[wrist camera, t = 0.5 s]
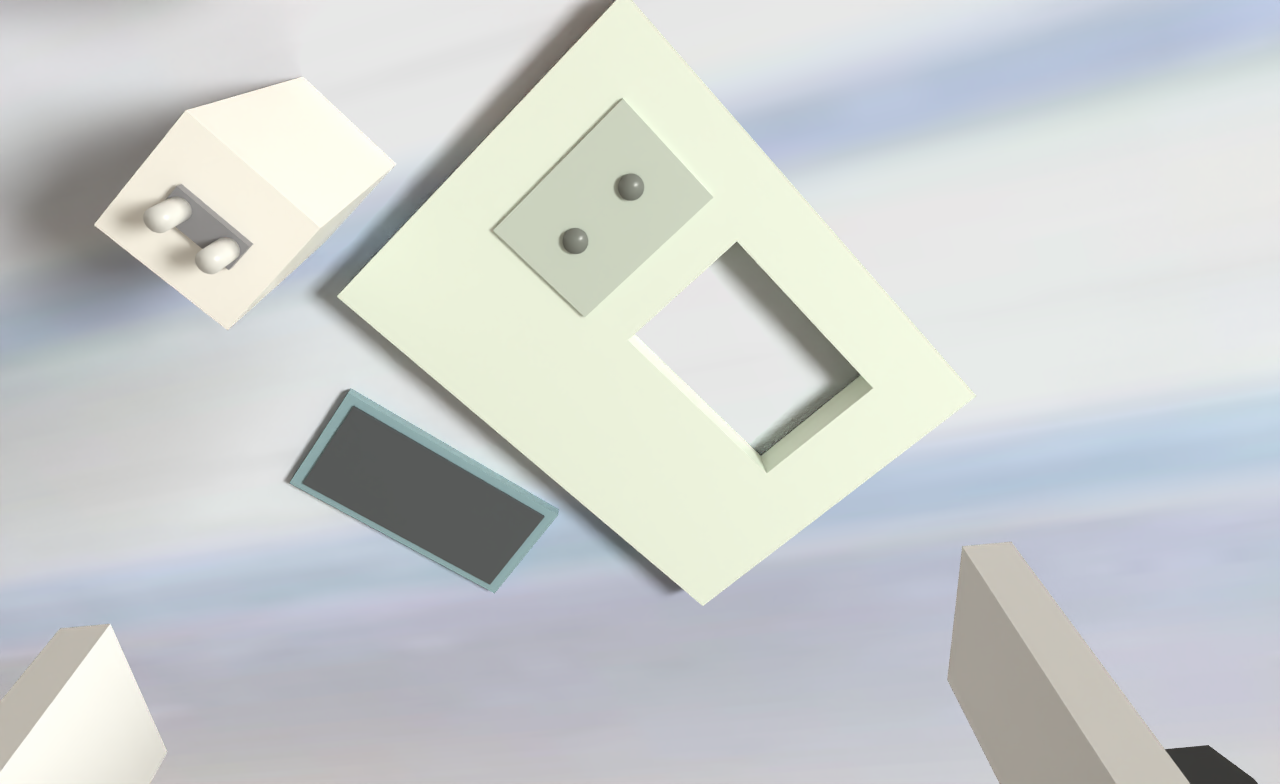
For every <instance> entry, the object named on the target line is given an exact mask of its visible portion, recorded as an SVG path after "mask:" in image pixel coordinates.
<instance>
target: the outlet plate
mask: <svg viewBox="0 0 1280 784" xmlns="http://www.w3.org/2000/svg"><path fill="white" fill-rule="evenodd" d="M736 242H738V243H739V244H740V245H741V246H742V247H743V248H744V250H745V251H746V252H747V253H748V254H749V255H750V256H751V257H752V258H753V259H754V260H755V261H756V262H757V264H758V265H759V266H760V267H761V268H762V269H763V270H764V271H765V272H766V273H767V274H768V275H769V276H770V278H771V279H772V280H773V281H774V282H775V283H776V284H777V285H778V286H779V287H780V288H781V289H782V290H783V292H784V293H785V294H786V295H787V296H788V297H789V298H790V299H791V300H792V301H793V302H794V303H795V305H796V306H797V307H798V308H799V309H800V310H801V311H802V312H803V313H804V314H805V315H806V316H807V317H808V319H809V320H810V321H811V322H812V323H813V324H814V325H815V326H816V327H817V328H818V329H819V330H820V331H821V333H822V334H823V335H824V336H825V337H826V338H827V339H828V340H829V341H830V342H831V343H832V344H833V345H834V347H835V348H836V349H837V350H838V351H839V352H840V353H841V354H842V355H843V356H844V357H845V358H846V359H847V361H848V362H849V363H850V364H851V365H852V366H853V367H854V368H855V369H856V370H857V371H858V372H859V373H860V376H859V377H858V378H856V379H855V380H854V381H853V382H851V383H850V384H849V385H848V386H847V387H845V388H844V389H843V390H842V391H840V392H839V393H838V394H837V395H835V396H834V397H833V398H832V399H831V400H829V401H828V402H827V403H826V404H824V405H823V406H822V407H821V408H819V409H818V410H817V411H816V412H814V413H813V414H812V415H811V416H810V417H808V418H807V419H806V420H805V421H803V422H802V423H801V424H800V425H798V426H797V427H796V428H795V429H793V430H792V431H791V432H790V433H789V434H787V435H786V436H785V437H784V438H782V439H781V440H780V441H779V442H777V443H776V444H775V445H774V446H772V447H771V448H770V449H769V450H768V451H766V452H765V453H764V454H763V455H759V454H758V453H757V452H756V451H755V450H754V449H753V448H752V447H751V446H750V445H749V444H748V443H747V442H746V441H745V440H744V439H743V438H742V437H741V436H740V435H739V434H738V433H737V432H736V431H735V430H734V429H733V428H731V427H730V426H729V425H728V424H727V423H726V422H725V421H724V420H723V419H722V418H721V417H720V416H719V415H718V414H717V413H716V412H715V411H714V410H713V409H712V408H711V407H710V406H709V405H708V404H707V403H706V402H705V401H703V400H702V399H701V398H700V397H699V396H698V395H697V394H696V393H695V392H694V391H693V390H692V389H691V388H690V387H689V386H688V385H687V384H686V383H685V382H684V381H683V380H682V379H681V378H680V377H679V376H678V375H677V374H676V373H674V372H673V371H672V370H671V369H670V368H669V367H668V366H667V365H666V364H665V363H664V362H663V361H662V360H661V359H660V358H659V357H658V356H657V355H656V354H655V353H654V352H653V351H652V350H651V349H650V348H649V347H648V346H646V345H645V344H644V343H643V342H642V341H641V340H640V339H639V338H638V337H637V336H636V335H635V333H636V332H637V331H639V330H640V329H641V328H642V327H643V326H644V325H645V324H646V323H647V322H649V321H650V320H651V319H652V318H653V317H654V316H655V315H656V314H657V313H658V312H660V311H661V310H662V309H663V308H664V307H665V306H666V305H667V304H668V303H669V302H671V301H672V300H673V299H674V298H675V297H676V296H677V295H678V294H679V293H680V292H682V291H683V290H684V289H685V288H686V287H687V286H688V285H689V284H690V283H692V282H693V281H694V280H695V279H696V278H697V277H698V276H699V275H700V274H701V273H703V272H704V271H705V270H706V269H707V268H708V267H709V266H710V265H711V264H712V263H714V262H715V261H716V260H717V259H718V258H719V257H720V256H721V255H722V254H724V253H725V252H726V251H727V250H728V249H729V248H730V247H731V246H732V245H733V244H735V243H736ZM337 297H338V298H339V299H340V300H341V301H342V302H344V303H345V304H346V305H347V306H348V307H350V308H351V309H352V310H353V311H354V312H356V313H357V314H358V315H359V316H360V317H361V318H363V319H364V320H365V321H366V322H367V323H369V324H370V325H371V326H372V327H373V328H374V329H376V330H377V331H378V332H379V333H380V334H382V335H383V336H384V337H385V338H386V339H387V340H389V341H390V342H391V343H392V344H393V345H395V346H396V347H397V348H398V349H399V350H400V351H402V352H403V353H404V354H405V355H406V356H408V357H409V358H410V359H411V360H412V361H414V362H415V363H416V364H417V365H418V366H419V367H421V368H422V369H423V370H424V371H425V372H427V373H428V374H429V375H430V376H431V377H432V378H434V379H435V380H436V381H437V382H438V383H440V384H441V385H442V386H443V387H444V388H445V389H447V390H448V391H449V392H450V393H451V394H453V395H454V396H455V397H456V398H457V399H459V400H460V401H461V402H462V403H463V404H464V405H466V406H467V407H468V408H469V409H470V410H472V411H473V412H474V413H475V414H476V415H477V416H479V417H480V418H481V419H482V420H483V421H485V422H486V423H487V424H488V425H489V426H490V427H492V428H493V429H494V430H495V431H496V432H498V433H499V434H500V435H501V436H502V437H503V438H505V439H506V440H507V441H508V442H509V443H511V444H512V445H513V446H514V447H515V448H517V449H518V450H519V451H520V452H521V453H522V454H524V455H525V456H526V457H527V458H528V459H530V460H531V461H532V462H533V463H534V464H535V465H537V466H538V467H539V468H540V469H541V470H543V471H544V472H545V473H546V474H547V475H548V476H550V477H551V478H552V479H553V480H554V481H556V482H557V483H558V484H559V485H560V486H562V487H563V488H564V489H565V490H566V491H567V492H569V493H570V494H571V495H572V496H573V497H575V498H576V499H577V500H578V501H579V502H580V503H582V504H583V505H584V506H585V507H586V508H588V509H589V510H590V511H591V512H592V513H593V514H595V515H596V516H597V517H598V518H599V519H601V520H602V521H603V522H604V523H605V524H607V525H608V526H609V527H610V528H611V529H612V530H614V531H615V532H616V533H617V534H618V535H620V536H621V537H622V538H623V539H624V540H625V541H627V542H628V543H629V544H630V545H631V546H633V547H634V548H635V549H636V550H637V551H638V552H640V553H641V554H642V555H643V556H644V557H646V558H647V559H648V560H649V561H650V562H651V563H653V564H654V565H655V566H656V567H657V568H659V569H660V570H661V571H662V572H663V573H665V574H666V575H667V576H668V577H669V578H670V579H672V580H673V581H674V582H675V583H676V584H678V585H679V586H680V587H681V588H682V589H683V590H685V591H686V592H687V593H688V594H689V595H691V596H692V597H693V598H694V599H695V600H696V601H698V602H699V603H700V604H701V605H702V606H703V605H705V604H706V603H707V602H709V601H710V600H711V599H712V598H714V597H715V596H716V595H718V594H719V593H720V592H722V591H723V590H724V589H726V588H727V587H728V586H729V585H731V584H732V583H733V582H735V581H736V580H737V579H739V578H740V577H741V576H742V575H744V574H745V573H746V572H748V571H749V570H750V569H752V568H753V567H754V566H756V565H757V564H758V563H759V562H761V561H762V560H763V559H765V558H766V557H767V556H769V555H770V554H771V553H772V552H774V551H775V550H776V549H778V548H779V547H780V546H782V545H783V544H784V543H786V542H787V541H788V540H789V539H791V538H792V537H793V536H795V535H796V534H797V533H799V532H800V531H801V530H802V529H804V528H805V527H806V526H808V525H809V524H810V523H812V522H813V521H814V520H816V519H817V518H818V517H819V516H821V515H822V514H823V513H825V512H826V511H827V510H829V509H830V508H831V507H832V506H834V505H835V504H836V503H838V502H839V501H840V500H842V499H843V498H844V497H846V496H847V495H848V494H849V493H851V492H852V491H853V490H855V489H856V488H857V487H859V486H860V485H861V484H862V483H864V482H865V481H866V480H868V479H869V478H870V477H872V476H873V475H874V474H876V473H877V472H878V471H879V470H881V469H882V468H883V467H885V466H886V465H887V464H889V463H890V462H891V461H892V460H894V459H895V458H896V457H898V456H899V455H900V454H902V453H903V452H904V451H906V450H907V449H908V448H909V447H911V446H912V445H913V444H915V443H916V442H917V441H919V440H920V439H921V438H922V437H924V436H925V435H926V434H928V433H929V432H930V431H932V430H933V429H934V428H936V427H937V426H938V425H939V424H941V423H942V422H943V421H945V420H946V419H947V418H949V417H950V416H951V415H952V414H954V413H955V412H956V411H958V410H959V409H960V408H962V407H963V406H964V405H966V404H967V403H968V402H969V401H971V400H972V399H973V398H975V397H976V395H975V394H974V393H973V392H972V391H971V389H970V388H969V387H968V386H967V385H966V384H965V383H964V381H963V380H962V379H961V378H960V377H959V376H958V375H957V373H956V372H955V371H954V370H953V369H952V368H951V366H950V365H949V364H948V363H947V362H946V361H945V360H944V358H943V357H942V356H941V355H940V354H939V353H938V352H937V350H936V349H935V348H934V347H933V346H932V345H931V344H930V342H929V341H928V340H927V339H926V338H925V337H924V335H923V334H922V333H921V332H920V331H919V330H918V329H917V327H916V326H915V325H914V324H913V323H912V322H911V321H910V319H909V318H908V317H907V316H906V315H905V314H904V312H903V311H902V310H901V309H900V308H899V307H898V306H897V304H896V303H895V302H894V301H893V300H892V299H891V298H890V296H889V295H888V294H887V293H886V292H885V291H884V289H883V288H882V287H881V286H880V285H879V284H878V283H877V281H876V280H875V279H874V278H873V277H872V276H871V275H870V273H869V272H868V271H867V270H866V269H865V268H864V267H863V265H862V264H861V263H860V262H859V261H858V260H857V258H856V257H855V256H854V255H853V254H852V253H851V252H850V250H849V249H848V248H847V247H846V246H845V245H844V244H843V242H842V241H841V240H840V239H839V238H838V237H837V235H836V234H835V233H834V232H833V231H832V230H831V229H830V227H829V226H828V225H827V224H826V223H825V222H824V221H823V219H822V218H821V217H820V216H819V215H818V214H817V213H816V211H815V210H814V209H813V208H812V207H811V206H810V204H809V203H808V202H807V201H806V200H805V199H804V198H803V196H802V195H801V194H800V193H799V192H798V191H797V190H796V188H795V187H794V186H793V185H792V184H791V183H790V181H789V180H788V179H787V178H786V177H785V176H784V175H783V173H782V172H781V171H780V170H779V169H778V168H777V167H776V165H775V164H774V163H773V162H772V161H771V160H770V158H769V157H768V156H767V155H766V154H765V153H764V152H763V150H762V149H761V148H760V147H759V146H758V145H757V144H756V142H755V141H754V140H753V139H752V138H751V137H750V136H749V134H748V133H747V132H746V131H745V130H744V129H743V127H742V126H741V125H740V124H739V123H738V122H737V121H736V119H735V118H734V117H733V116H732V115H731V114H730V113H729V111H728V110H727V109H726V108H725V107H724V106H723V104H722V103H721V102H720V101H719V100H718V99H717V98H716V96H715V95H714V94H713V93H712V92H711V91H710V90H709V88H708V87H707V86H706V85H705V84H704V83H703V82H702V80H701V79H700V78H699V77H698V76H697V75H696V73H695V72H694V71H693V70H692V69H691V68H690V67H689V65H688V64H687V63H686V62H685V61H684V60H683V59H682V57H681V56H680V55H679V54H678V53H677V52H676V50H675V49H674V48H673V47H672V46H671V45H670V44H669V42H668V41H667V40H666V39H665V38H664V37H663V36H662V34H661V33H660V32H659V31H658V30H657V29H656V27H655V26H654V25H653V24H652V23H651V22H650V21H649V19H648V18H647V17H646V16H645V15H644V14H643V13H642V11H641V10H640V9H639V8H638V7H637V6H636V5H635V3H634V2H633V1H632V0H615V1H614V2H613V3H612V5H611V6H610V7H609V8H608V9H607V10H606V11H605V12H604V13H603V14H602V15H601V16H600V17H599V18H598V19H597V20H596V21H595V23H594V24H593V25H592V26H591V27H590V28H589V29H588V30H587V31H586V32H585V33H584V34H583V35H582V36H581V37H580V38H579V39H578V41H577V42H576V43H575V44H574V45H573V46H572V47H571V48H570V49H569V50H568V51H567V52H566V53H565V54H564V55H563V56H562V58H561V59H560V60H559V61H558V62H557V63H556V64H555V65H554V66H553V67H552V68H551V69H550V70H549V71H548V72H547V73H546V74H545V76H544V77H543V78H542V79H541V80H540V81H539V82H538V83H537V84H536V85H535V86H534V87H533V88H532V89H531V90H530V91H529V92H528V94H527V95H526V96H525V97H524V98H523V99H522V100H521V101H520V102H519V103H518V104H517V105H516V106H515V107H514V108H513V109H512V111H511V112H510V113H509V114H508V115H507V116H506V117H505V118H504V119H503V120H502V121H501V122H500V123H499V124H498V125H497V126H496V127H495V129H494V130H493V131H492V132H491V133H490V134H489V135H488V136H487V137H486V138H485V139H484V140H483V141H482V142H481V143H480V144H479V145H478V147H477V148H476V149H475V150H474V151H473V152H472V153H471V154H470V155H469V156H468V157H467V158H466V159H465V160H464V161H463V162H462V163H461V165H460V166H459V167H458V168H457V169H456V170H455V171H454V172H453V173H452V174H451V175H450V176H449V177H448V178H447V179H446V180H445V182H444V183H443V184H442V185H441V186H440V187H439V188H438V189H437V190H436V191H435V192H434V193H433V194H432V195H431V196H430V197H429V198H428V200H427V201H426V202H425V203H424V204H423V205H422V206H421V207H420V208H419V209H418V210H417V211H416V212H415V213H414V214H413V215H412V216H411V218H410V219H409V220H408V221H407V222H406V223H405V224H404V225H403V226H402V227H401V228H400V229H399V230H398V231H397V232H396V233H395V235H394V236H393V237H392V238H391V239H390V240H389V241H388V242H387V243H386V244H385V245H384V246H383V247H382V248H381V249H380V250H379V251H378V253H377V254H376V255H375V256H374V257H373V258H372V259H371V260H370V261H369V262H368V263H367V264H366V265H365V266H364V267H363V268H362V269H361V271H360V272H359V273H358V274H357V275H356V276H355V277H354V278H353V279H352V280H351V281H350V282H349V283H348V284H347V285H346V287H345V288H344V289H343V290H342V291H341V292H340V294H339V295H338V296H337Z"/></svg>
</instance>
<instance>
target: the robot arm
mask: <svg viewBox="0 0 1280 784" xmlns="http://www.w3.org/2000/svg"><path fill="white" fill-rule="evenodd" d="M947 680H948V682H949V684H950V686H951V688H952V690H953V692H954V694H955V696H956V698H957V700H958V702H959V704H960V706H961V708H962V710H963V712H964V714H965V716H966V718H967V720H968V722H969V724H970V726H971V728H972V730H973V732H974V734H975V736H976V738H977V740H978V742H979V744H980V746H981V748H982V750H983V752H984V754H985V756H986V758H987V760H988V761H989V763H990V765H991V767H992V769H993V771H994V773H995V775H996V777H997V779H998V781H999V783H1000V784H1258V783H1257V782H1256V781H1255V780H1254V779H1253V778H1252V777H1251V776H1249V775H1248V774H1246V773H1245V772H1244V771H1242V770H1241V769H1240V768H1238V767H1237V766H1236V765H1234V764H1233V763H1232V762H1230V761H1229V760H1228V759H1226V758H1225V757H1223V756H1222V755H1221V754H1219V753H1218V752H1217V751H1215V750H1214V749H1213V748H1211V747H1210V746H1209V745H1206V746H1195V747H1185V748H1174V749H1164V748H1163V746H1162V745H1161V744H1160V742H1159V741H1158V740H1157V738H1156V737H1155V735H1154V734H1153V733H1152V731H1151V730H1150V729H1149V727H1148V726H1147V725H1146V723H1145V722H1144V721H1143V719H1142V718H1141V717H1140V715H1139V714H1138V712H1137V711H1136V710H1135V708H1134V707H1133V706H1132V704H1131V703H1130V702H1129V700H1128V699H1127V698H1126V696H1125V695H1124V694H1123V692H1122V691H1121V690H1120V688H1119V687H1118V685H1117V684H1116V683H1115V681H1114V680H1113V679H1112V677H1111V676H1110V675H1109V673H1108V672H1107V671H1106V669H1105V668H1104V667H1103V665H1102V664H1101V662H1100V661H1099V660H1098V658H1097V657H1096V656H1095V654H1094V653H1093V652H1092V650H1091V649H1090V648H1089V646H1088V645H1087V644H1086V642H1085V641H1084V640H1083V638H1082V637H1081V635H1080V634H1079V633H1078V631H1077V630H1076V629H1075V627H1074V626H1073V625H1072V623H1071V622H1070V621H1069V619H1068V618H1067V617H1066V615H1065V614H1064V612H1063V611H1062V610H1061V608H1060V607H1059V606H1058V604H1057V603H1056V602H1055V600H1054V599H1053V598H1052V596H1051V595H1050V594H1049V592H1048V591H1047V589H1046V588H1045V587H1044V585H1043V584H1042V583H1041V581H1040V580H1039V579H1038V577H1037V576H1036V575H1035V573H1034V572H1033V571H1032V569H1031V568H1030V567H1029V565H1028V564H1027V562H1026V561H1025V560H1024V558H1023V557H1022V556H1021V554H1020V553H1019V552H1018V550H1017V549H1016V548H1015V546H1014V545H1013V544H1012V542H1004V543H993V544H982V545H971V546H962V553H961V562H960V571H959V579H958V588H957V597H956V606H955V615H954V624H953V633H952V642H951V651H950V660H949V669H948V678H947ZM166 754H167V750H166V748H165V746H164V744H163V741H162V739H161V737H160V735H159V732H158V730H157V728H156V726H155V723H154V721H153V719H152V717H151V714H150V712H149V710H148V708H147V705H146V703H145V701H144V699H143V696H142V694H141V692H140V690H139V687H138V685H137V683H136V681H135V678H134V676H133V674H132V672H131V669H130V667H129V665H128V663H127V660H126V658H125V656H124V654H123V651H122V649H121V647H120V645H119V642H118V640H117V638H116V636H115V633H114V631H113V629H112V627H111V624H104V625H93V626H82V627H71V628H60V629H59V630H58V631H57V633H56V634H55V635H54V636H53V638H52V639H51V640H50V641H49V643H48V644H47V645H46V646H45V647H44V649H43V650H42V651H41V652H40V654H39V655H38V656H37V657H36V658H35V660H34V661H33V662H32V663H31V665H30V666H29V667H28V668H27V669H26V671H25V672H24V673H23V674H22V676H21V677H20V678H19V679H18V681H17V682H16V683H15V684H14V685H13V687H12V688H11V689H10V690H9V692H8V693H7V694H6V695H5V696H4V698H3V699H2V700H1V701H0V784H150V783H151V781H152V779H153V777H154V776H155V774H156V772H157V770H158V768H159V766H160V765H161V763H162V761H163V759H164V757H165V756H166Z"/></svg>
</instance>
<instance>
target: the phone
mask: <svg viewBox="0 0 1280 784" xmlns="http://www.w3.org/2000/svg"><path fill="white" fill-rule="evenodd" d="M290 484H292V485H294V486H296V487H297V488H299V489H301V490H303V491H305V492H307V493H309V494H310V495H312V496H314V497H316V498H318V499H320V500H322V501H324V502H325V503H327V504H329V505H331V506H333V507H335V508H337V509H338V510H340V511H342V512H344V513H346V514H348V515H350V516H351V517H353V518H355V519H357V520H359V521H361V522H363V523H364V524H366V525H368V526H370V527H372V528H374V529H376V530H378V531H379V532H381V533H383V534H385V535H387V536H389V537H391V538H392V539H394V540H396V541H398V542H400V543H402V544H404V545H405V546H407V547H409V548H411V549H413V550H415V551H417V552H418V553H420V554H422V555H424V556H426V557H428V558H430V559H432V560H433V561H435V562H437V563H439V564H441V565H443V566H445V567H446V568H448V569H450V570H452V571H454V572H456V573H458V574H459V575H461V576H463V577H465V578H467V579H469V580H471V581H472V582H474V583H476V584H478V585H480V586H482V587H484V588H486V589H487V590H489V591H491V592H493V593H495V592H496V591H497V590H498V589H499V587H500V586H501V585H502V584H503V582H504V581H505V580H506V579H507V577H508V576H509V575H510V574H511V572H512V571H513V570H514V569H515V568H516V566H517V565H518V564H519V563H520V561H521V560H522V559H523V558H524V556H525V555H526V554H527V553H528V552H529V550H530V549H531V548H532V547H533V545H534V544H535V543H536V542H537V540H538V539H539V538H540V537H541V535H542V534H543V533H544V532H545V531H546V529H547V528H548V527H549V526H550V524H551V523H552V522H553V521H554V519H555V518H556V517H557V516H558V512H559V509H557V508H555V507H554V506H552V505H550V504H549V503H547V502H545V501H543V500H542V499H540V498H538V497H537V496H535V495H533V494H531V493H530V492H528V491H526V490H525V489H523V488H521V487H519V486H518V485H516V484H514V483H512V482H511V481H509V480H507V479H506V478H504V477H502V476H500V475H499V474H497V473H495V472H494V471H492V470H490V469H488V468H487V467H485V466H483V465H482V464H480V463H478V462H476V461H475V460H473V459H471V458H470V457H468V456H466V455H464V454H463V453H461V452H459V451H457V450H456V449H454V448H452V447H451V446H449V445H447V444H445V443H444V442H442V441H440V440H439V439H437V438H435V437H433V436H432V435H430V434H428V433H427V432H425V431H423V430H421V429H420V428H418V427H416V426H415V425H413V424H411V423H409V422H408V421H406V420H404V419H402V418H401V417H399V416H397V415H396V414H394V413H392V412H390V411H389V410H387V409H385V408H384V407H382V406H380V405H378V404H377V403H375V402H373V401H372V400H370V399H368V398H366V397H365V396H363V395H361V394H360V393H358V392H356V391H354V390H353V389H350V391H349V392H348V394H347V395H346V397H345V398H344V400H343V402H342V403H341V405H340V406H339V408H338V409H337V411H336V412H335V414H334V415H333V417H332V418H331V420H330V421H329V423H328V425H327V426H326V428H325V429H324V431H323V432H322V434H321V435H320V437H319V438H318V440H317V441H316V443H315V445H314V446H313V448H312V449H311V451H310V452H309V454H308V455H307V457H306V458H305V460H304V461H303V463H302V464H301V466H300V468H299V469H298V471H297V472H296V474H295V475H294V477H293V478H292V480H291V481H290Z"/></svg>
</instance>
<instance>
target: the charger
mask: <svg viewBox="0 0 1280 784" xmlns="http://www.w3.org/2000/svg"><path fill="white" fill-rule="evenodd" d="M395 165H396V163H395V162H394V161H393V160H392V159H390V158H389V157H388V156H387V155H386V154H385V153H384V152H383V151H382V150H381V149H380V148H379V147H378V146H377V145H375V144H374V143H373V142H372V141H371V140H370V139H369V138H368V137H367V136H366V135H365V134H364V133H363V132H362V131H361V130H359V129H358V128H357V127H356V126H355V125H354V124H353V123H352V122H351V121H350V120H349V119H348V118H347V117H346V116H344V115H343V114H342V113H341V112H340V111H339V110H338V109H337V108H336V107H335V106H334V105H333V104H332V103H331V102H329V101H328V100H327V99H326V98H325V97H324V96H323V95H322V94H321V93H320V92H319V91H318V90H317V89H316V88H314V87H313V86H312V85H311V84H310V83H309V82H308V81H307V80H306V79H305V78H304V77H300V78H296V79H293V80H289V81H286V82H282V83H279V84H275V85H272V86H268V87H265V88H262V89H258V90H255V91H251V92H248V93H244V94H241V95H237V96H234V97H230V98H227V99H223V100H220V101H217V102H213V103H210V104H206V105H203V106H199V107H196V108H192V109H189V110H185V112H184V113H183V114H182V115H181V117H180V118H179V119H178V120H177V122H176V123H175V124H174V125H173V127H172V128H171V129H170V130H169V132H168V133H167V134H166V135H165V137H164V138H163V139H162V140H161V142H160V143H159V144H158V145H157V147H156V148H155V149H154V150H153V152H152V153H151V154H150V155H149V157H148V158H147V159H146V160H145V162H144V163H143V164H142V165H141V167H140V168H139V169H138V170H137V172H136V173H135V174H134V175H133V177H132V178H131V179H130V180H129V181H128V183H127V184H126V185H125V186H124V188H123V189H122V190H121V191H120V193H119V194H118V195H117V196H116V198H115V199H114V200H113V201H112V203H111V204H110V205H109V206H108V208H107V209H106V210H105V211H104V213H103V214H102V215H101V216H100V218H99V219H98V220H97V221H96V223H95V224H94V226H96V227H97V228H98V229H100V230H101V231H102V232H103V233H105V234H106V235H107V236H108V237H110V238H111V239H112V240H113V241H115V242H116V243H117V244H119V245H120V246H121V247H122V248H124V249H125V250H126V251H127V252H129V253H130V254H131V255H133V256H134V257H135V258H136V259H138V260H139V261H140V262H141V263H143V264H144V265H145V266H147V267H148V268H149V269H150V270H152V271H153V272H154V273H155V274H157V275H158V276H159V277H161V278H162V279H163V280H164V281H166V282H167V283H168V284H169V285H171V286H172V287H173V288H174V289H176V290H177V291H178V292H180V293H181V294H182V295H183V296H185V297H186V298H187V299H188V300H190V301H191V302H192V303H194V304H195V305H196V306H197V307H199V308H200V309H201V310H202V311H204V312H205V313H206V314H208V315H209V316H210V317H211V318H213V319H214V320H215V321H216V322H218V323H219V324H220V325H222V326H223V327H224V328H225V329H227V330H229V329H230V328H231V327H232V326H233V325H234V324H235V323H236V322H238V321H239V320H240V319H241V318H242V317H243V316H244V315H245V314H246V313H247V312H249V311H250V310H251V309H252V308H253V307H254V306H255V305H256V304H257V303H259V302H260V301H261V300H262V299H263V298H264V297H265V296H266V295H267V294H268V293H270V292H271V291H272V290H273V289H274V288H275V287H276V286H277V285H278V284H279V283H281V282H282V281H283V280H284V279H285V278H286V277H287V276H288V275H289V274H291V273H292V272H293V271H294V270H295V269H296V268H297V267H298V266H299V265H300V264H302V263H303V262H304V261H305V260H306V259H307V258H308V257H309V256H310V255H311V254H313V253H314V252H315V251H316V250H317V249H318V248H319V247H320V246H321V245H322V244H324V243H325V242H326V241H327V240H328V238H329V237H330V236H331V235H332V234H333V233H334V232H335V231H336V230H337V229H338V227H339V226H340V225H341V224H342V223H343V222H344V221H345V220H346V219H347V218H348V217H349V215H350V214H351V213H352V212H353V211H354V210H355V209H356V208H357V207H358V206H359V205H360V203H361V202H362V201H363V200H364V199H365V198H366V197H367V196H368V195H369V194H370V193H371V191H372V190H373V189H374V188H375V187H376V186H377V185H378V184H379V183H380V182H381V180H382V179H383V178H384V177H385V176H386V175H387V174H388V173H389V172H390V171H391V170H392V168H393V167H394V166H395Z"/></svg>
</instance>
